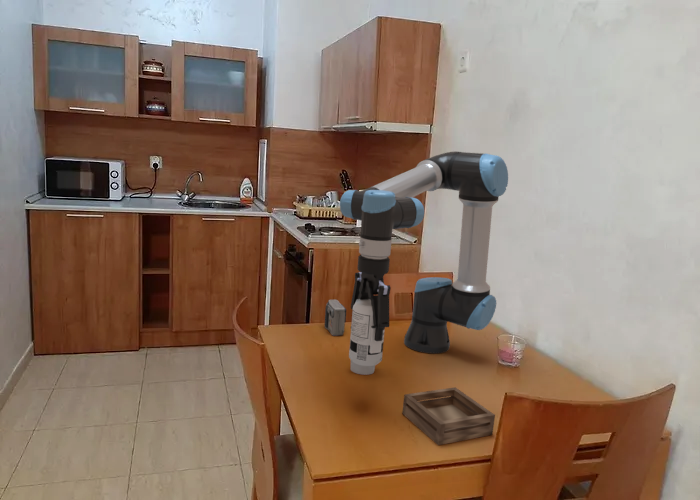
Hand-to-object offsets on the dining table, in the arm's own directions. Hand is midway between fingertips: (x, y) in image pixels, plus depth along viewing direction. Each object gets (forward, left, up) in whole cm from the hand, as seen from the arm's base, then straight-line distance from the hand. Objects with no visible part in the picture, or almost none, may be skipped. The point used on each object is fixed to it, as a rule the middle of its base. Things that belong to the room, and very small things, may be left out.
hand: (366, 345), depth 138 cm
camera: (-17, -53, -16) cm, 58 cm away
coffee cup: (-11, -20, -16) cm, 28 cm away
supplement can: (0, 0, -4) cm, 4 cm away
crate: (-16, +15, -16) cm, 27 cm away
